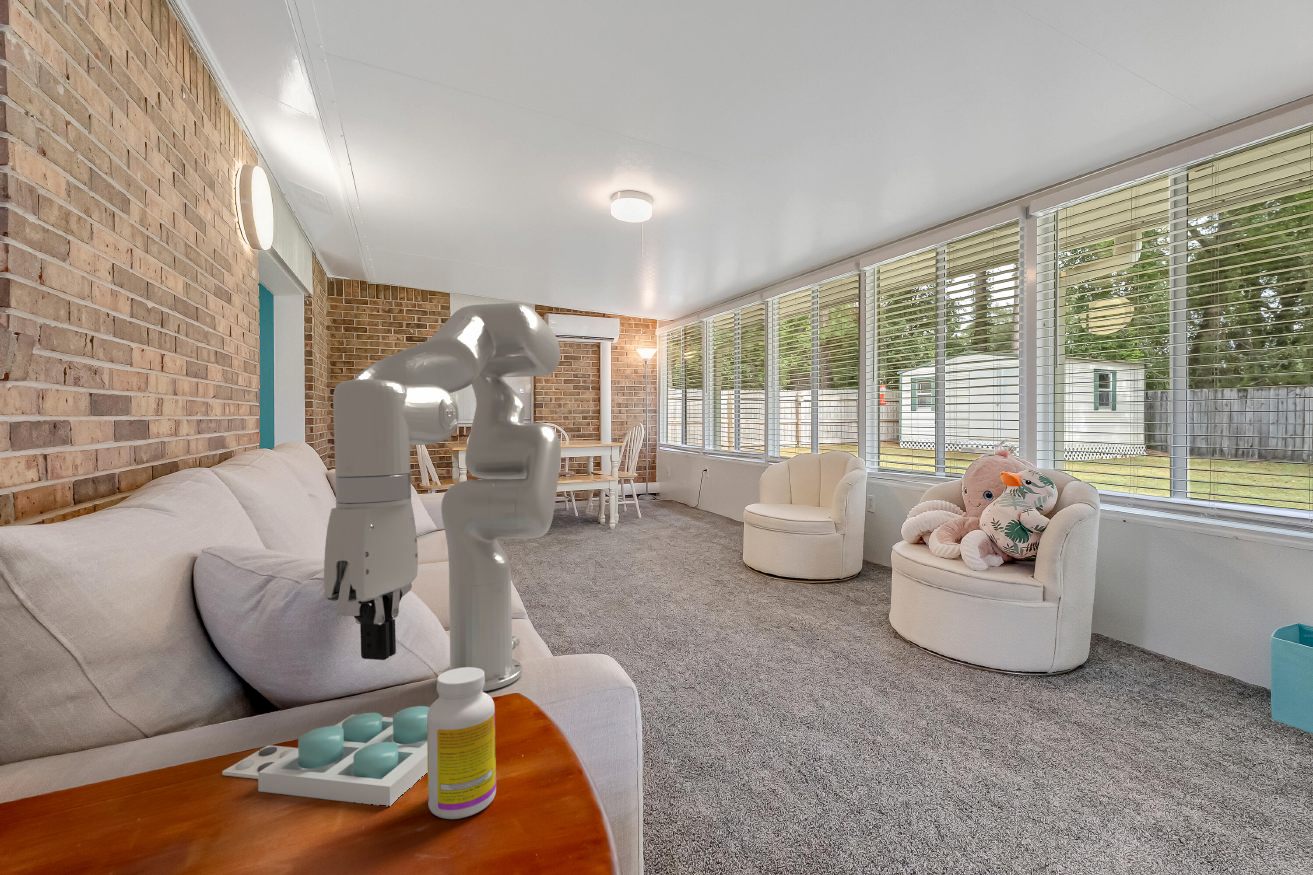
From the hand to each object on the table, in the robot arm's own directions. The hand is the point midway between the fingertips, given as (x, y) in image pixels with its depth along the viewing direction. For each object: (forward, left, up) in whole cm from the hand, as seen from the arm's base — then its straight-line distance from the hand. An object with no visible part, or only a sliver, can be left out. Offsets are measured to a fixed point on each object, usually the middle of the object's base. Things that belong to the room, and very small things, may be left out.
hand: (378, 656), depth 64 cm
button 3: (+1, 0, -13) cm, 13 cm away
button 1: (+1, -7, -11) cm, 13 cm away
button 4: (-6, 0, -11) cm, 13 cm away
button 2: (-6, -7, -13) cm, 16 cm away
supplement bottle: (+2, +11, -14) cm, 18 cm away
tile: (-1, -15, -13) cm, 20 cm away
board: (-3, -3, -13) cm, 14 cm away
